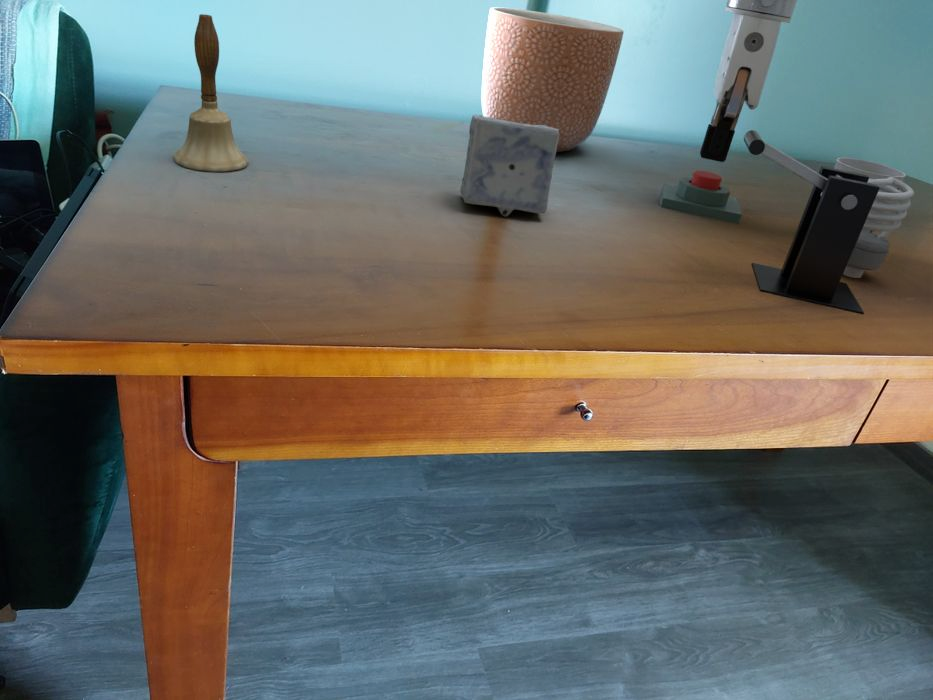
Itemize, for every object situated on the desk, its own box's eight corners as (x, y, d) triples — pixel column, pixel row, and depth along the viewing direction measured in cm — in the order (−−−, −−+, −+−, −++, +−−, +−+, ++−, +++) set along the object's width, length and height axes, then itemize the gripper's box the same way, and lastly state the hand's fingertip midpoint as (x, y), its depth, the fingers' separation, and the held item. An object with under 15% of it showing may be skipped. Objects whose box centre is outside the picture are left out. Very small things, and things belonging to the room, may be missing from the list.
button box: (731, 213, 101) (740, 185, 99) (736, 230, 94) (746, 200, 92) (658, 198, 102) (666, 170, 100) (658, 214, 95) (667, 184, 93)
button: (717, 187, 97) (721, 174, 97) (718, 194, 94) (723, 180, 93) (689, 181, 98) (693, 168, 97) (690, 188, 95) (694, 175, 94)
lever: (742, 154, 69) (758, 132, 68) (737, 144, 73) (752, 123, 72) (851, 219, 69) (869, 197, 68) (840, 205, 74) (857, 184, 72)
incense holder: (536, 201, 92) (553, 117, 87) (544, 223, 85) (563, 133, 80) (459, 191, 91) (471, 105, 86) (460, 212, 84) (474, 120, 79)
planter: (445, 131, 119) (462, 3, 110) (520, 123, 134) (541, 10, 125) (548, 167, 108) (576, 29, 99) (618, 154, 123) (648, 33, 114)
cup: (880, 258, 93) (915, 181, 88) (816, 245, 93) (846, 168, 89) (861, 237, 100) (893, 165, 95) (801, 226, 100) (829, 153, 96)
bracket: (756, 300, 73) (803, 175, 67) (748, 272, 80) (790, 157, 74) (859, 323, 72) (916, 198, 66) (842, 293, 79) (892, 177, 73)
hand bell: (184, 173, 81) (178, 18, 74) (165, 152, 87) (158, 6, 79) (257, 171, 86) (259, 24, 78) (235, 151, 91) (234, 13, 84)
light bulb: (831, 287, 80) (877, 180, 74) (812, 268, 85) (853, 166, 79) (881, 295, 80) (930, 189, 74) (859, 275, 85) (904, 174, 79)
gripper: (804, 12, 79) (746, 178, 87) (784, 7, 91) (736, 153, 100) (733, -1, 80) (684, 165, 88) (724, -4, 93) (681, 141, 101)
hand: (712, 158), depth 94 cm, fingers closed
